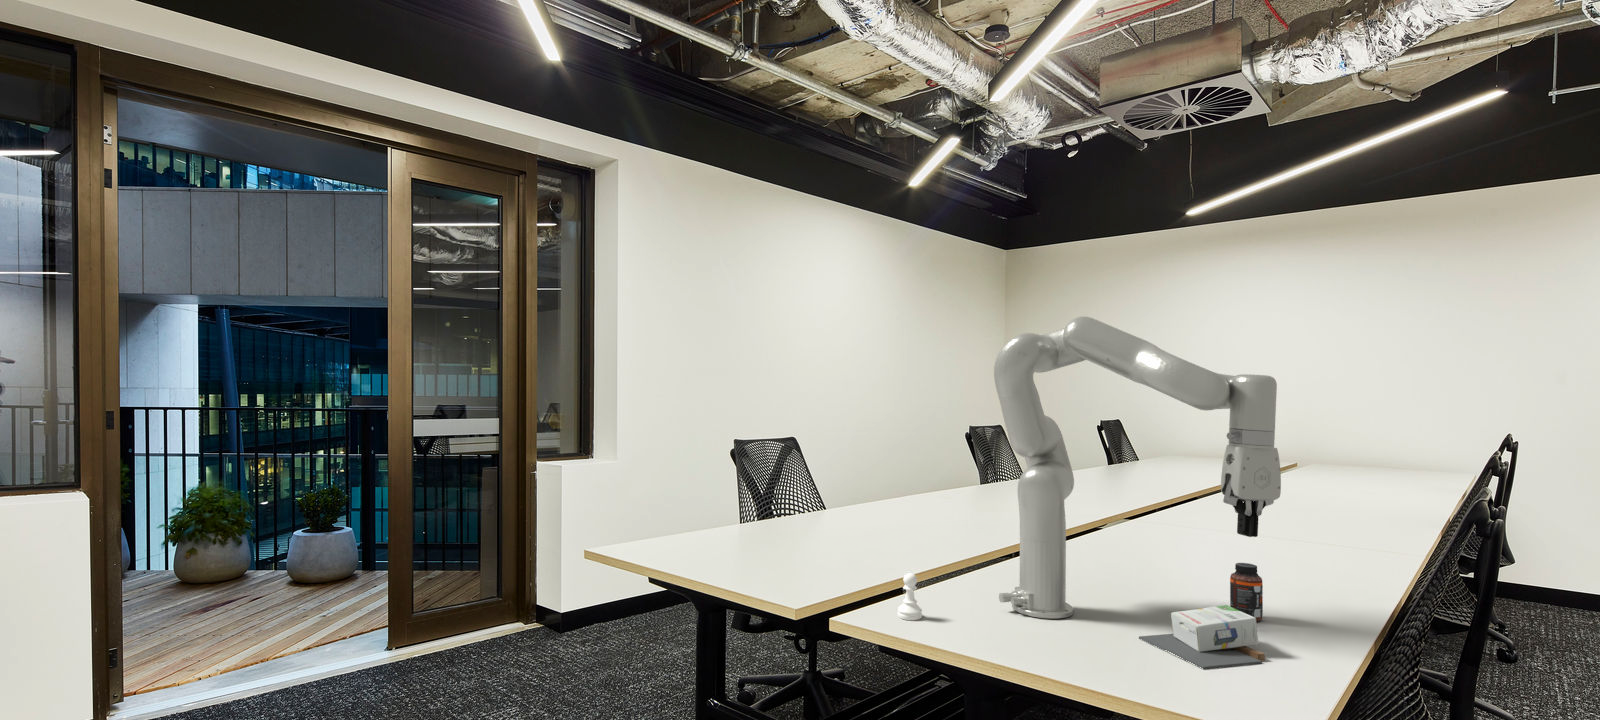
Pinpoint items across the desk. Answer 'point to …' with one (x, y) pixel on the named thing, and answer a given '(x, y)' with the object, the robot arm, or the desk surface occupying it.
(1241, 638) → the ink box
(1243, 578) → the supplement bottle
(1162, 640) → the mat
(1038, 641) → the desk surface
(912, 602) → the chess pawn
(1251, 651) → the stop strip
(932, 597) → the desk surface
